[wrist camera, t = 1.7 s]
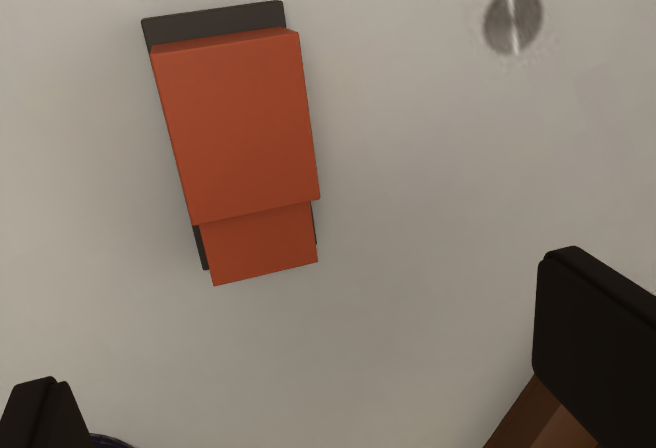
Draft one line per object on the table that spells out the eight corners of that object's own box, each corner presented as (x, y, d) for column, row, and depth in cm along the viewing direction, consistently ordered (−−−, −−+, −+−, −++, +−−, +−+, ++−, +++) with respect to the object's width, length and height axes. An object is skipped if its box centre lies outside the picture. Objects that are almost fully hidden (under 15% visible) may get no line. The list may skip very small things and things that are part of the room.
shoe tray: (588, 295, 37) (622, 320, 35) (679, 334, 42) (714, 359, 39) (458, 483, 42) (478, 518, 39) (551, 501, 46) (576, 533, 43)
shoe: (142, 18, 23) (135, 26, 19) (276, -1, 24) (300, 2, 20) (201, 258, 29) (207, 307, 24) (310, 233, 30) (335, 276, 25)
